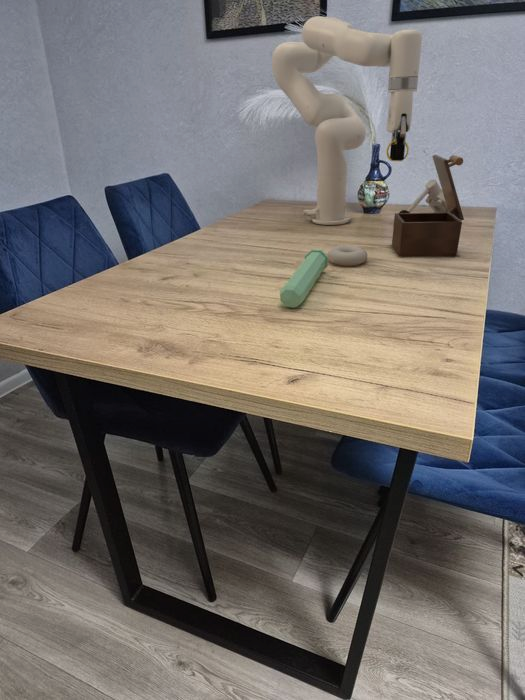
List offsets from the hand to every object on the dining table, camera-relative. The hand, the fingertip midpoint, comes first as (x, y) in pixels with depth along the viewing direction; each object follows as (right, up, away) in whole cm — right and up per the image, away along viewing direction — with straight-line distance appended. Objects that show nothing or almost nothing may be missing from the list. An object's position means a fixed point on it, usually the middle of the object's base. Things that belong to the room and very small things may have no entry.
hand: (396, 159), depth 134 cm
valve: (+17, -11, +25) cm, 32 cm away
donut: (-17, -32, -13) cm, 38 cm away
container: (-29, -41, -30) cm, 59 cm away
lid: (+8, -13, -15) cm, 22 cm away
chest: (+5, -28, -7) cm, 29 cm away
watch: (0, -1, 0) cm, 1 cm away
